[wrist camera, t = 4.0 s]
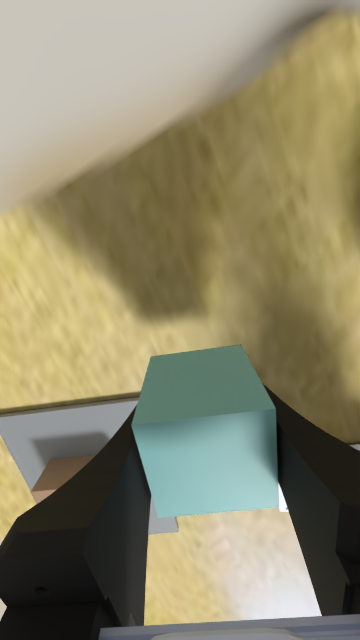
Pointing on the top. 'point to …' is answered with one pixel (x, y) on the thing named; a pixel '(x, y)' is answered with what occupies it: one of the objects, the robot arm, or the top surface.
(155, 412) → the teal block
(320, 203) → the top surface
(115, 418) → the build base
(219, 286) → the top surface
